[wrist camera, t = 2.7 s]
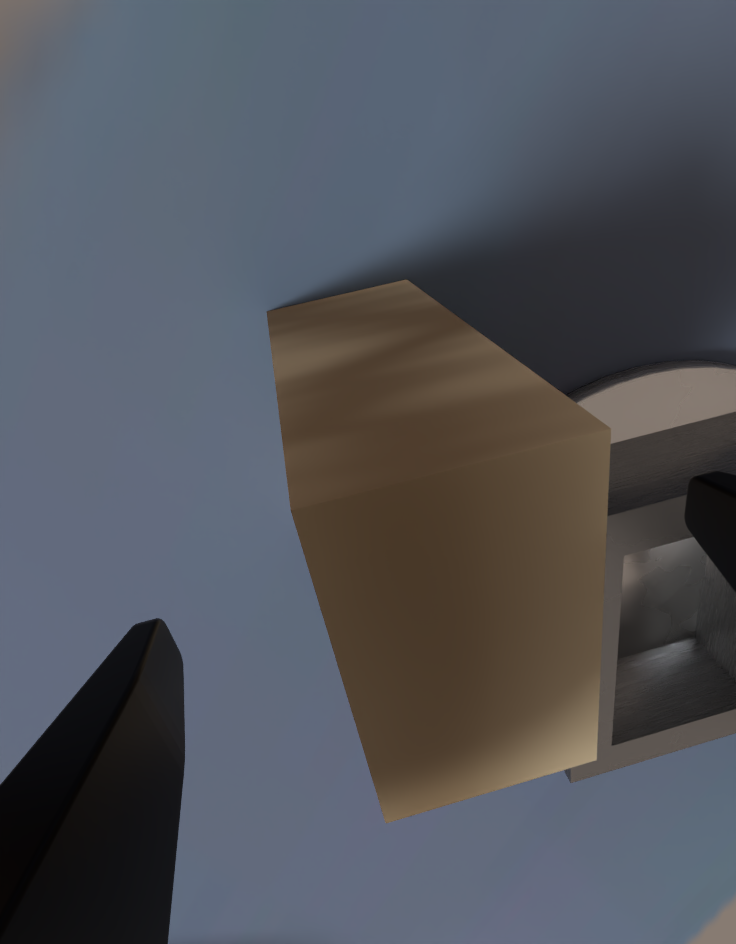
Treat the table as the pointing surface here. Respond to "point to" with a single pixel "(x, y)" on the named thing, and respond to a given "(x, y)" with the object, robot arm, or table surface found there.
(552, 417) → the light wood block
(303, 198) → the table surface
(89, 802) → the robot arm
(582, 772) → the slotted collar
